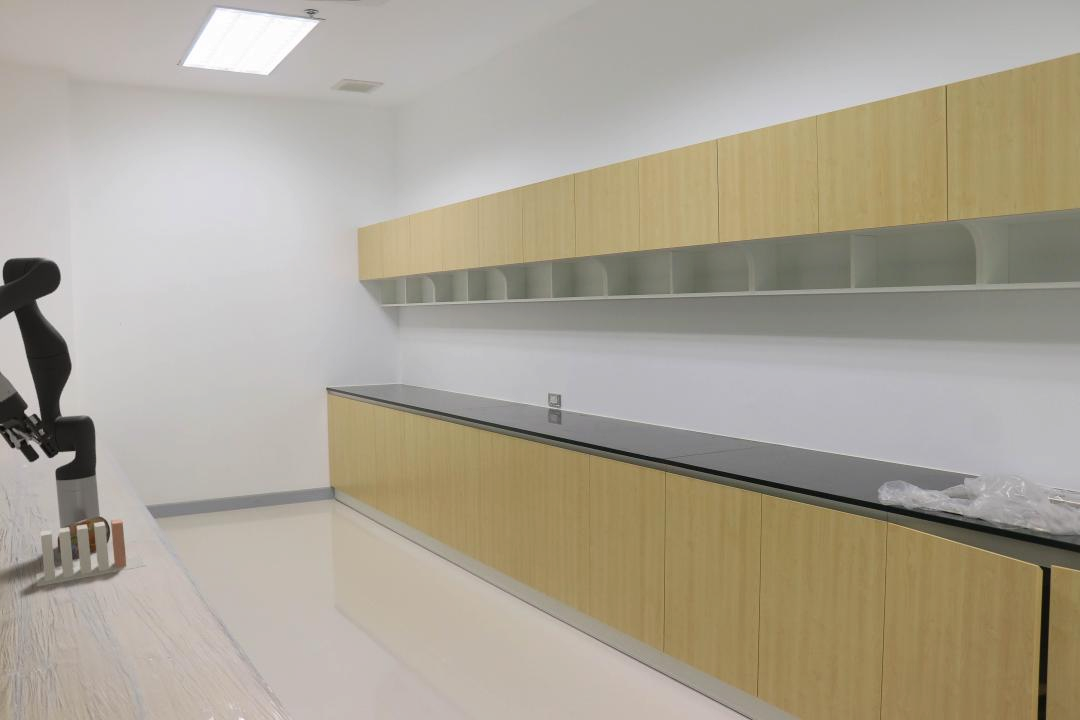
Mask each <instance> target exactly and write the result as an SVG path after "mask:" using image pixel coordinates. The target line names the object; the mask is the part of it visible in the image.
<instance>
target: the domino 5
mask: <svg viewBox="0 0 1080 720" xmlns="http://www.w3.org/2000/svg"><path fill="white" fill-rule="evenodd" d="M110 525H111V526H110V529H111V537H112V547H113V548H112V549H113V560H114V562H115V565H116V567H122V566H126V557H127V556H126V547H125V545H126V544H125V536H124V535H125V533H124V523H123V520H122V519H121V518H118V519H117V518H116V519H112V520H110Z"/></svg>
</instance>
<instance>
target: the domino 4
mask: <svg viewBox="0 0 1080 720" xmlns="http://www.w3.org/2000/svg"><path fill="white" fill-rule="evenodd" d="M94 531H95V542H96V550H95V551H96V552H95V553H96V563H97V565H98V569H99V571H101V570H106V569H109V552H108V543H107V538H106V526H105V523H104V522H98V523H94Z"/></svg>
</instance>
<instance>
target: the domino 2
mask: <svg viewBox="0 0 1080 720" xmlns="http://www.w3.org/2000/svg"><path fill="white" fill-rule="evenodd" d="M58 536H59V538H60V549H61V554H60V559H61V569H62V571H63V577H69V576H74V571H73V567H74V564H73V563H74V562H73V560H74V559H73V558H72V549H71V538H70V530H69V527H67V528H58Z"/></svg>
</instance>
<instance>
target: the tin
mask: <svg viewBox="0 0 1080 720" xmlns="http://www.w3.org/2000/svg"><path fill="white" fill-rule="evenodd" d="M98 522H104V523H105V526H106V538H107V544H108V543H109V540H110V536H111V526H110V525H109V522H108V520H106V518H104V517H102V516H100V517H93V518H88V519H85V520H82V521H79V522H77V523H74V524H71V525H68V526H66V527H64V528H67V527H69V530H70V538H71V549H72V559H77V558H79V549H78V538H77V527H76V526H79V525H85V524H86V525H87V527H88V536H89V547H90V553H92V552H95V551H96V542H95V531H94V523H98ZM57 548H58V551H59V553H60V555H61V549H60V538H59V535H58V537H57Z"/></svg>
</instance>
